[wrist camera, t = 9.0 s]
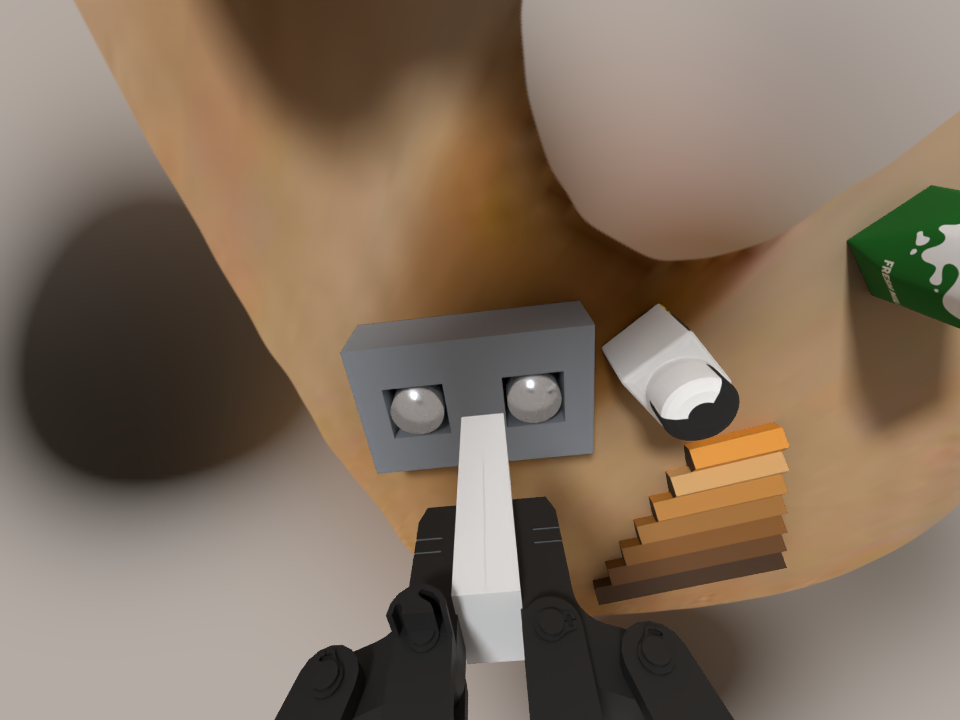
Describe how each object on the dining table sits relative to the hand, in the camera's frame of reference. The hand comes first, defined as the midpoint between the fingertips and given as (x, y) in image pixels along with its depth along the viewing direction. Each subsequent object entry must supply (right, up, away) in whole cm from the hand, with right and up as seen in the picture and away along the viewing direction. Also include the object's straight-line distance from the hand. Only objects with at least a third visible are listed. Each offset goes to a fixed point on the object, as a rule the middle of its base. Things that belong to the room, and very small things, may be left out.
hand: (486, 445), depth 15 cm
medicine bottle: (+17, +4, +28) cm, 33 cm away
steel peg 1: (-6, 0, +28) cm, 29 cm away
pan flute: (+25, -17, +40) cm, 50 cm away
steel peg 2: (+5, +2, +28) cm, 28 cm away
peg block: (-1, +2, +29) cm, 29 cm away
